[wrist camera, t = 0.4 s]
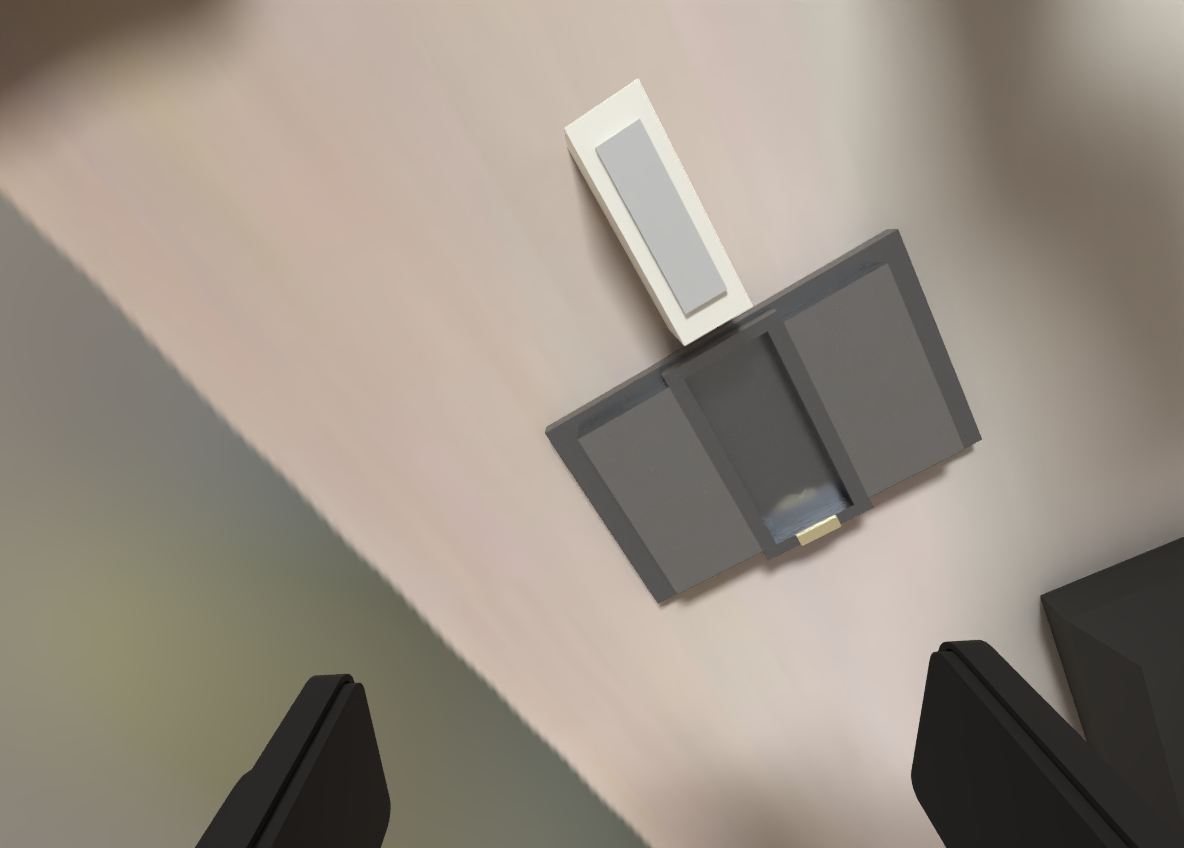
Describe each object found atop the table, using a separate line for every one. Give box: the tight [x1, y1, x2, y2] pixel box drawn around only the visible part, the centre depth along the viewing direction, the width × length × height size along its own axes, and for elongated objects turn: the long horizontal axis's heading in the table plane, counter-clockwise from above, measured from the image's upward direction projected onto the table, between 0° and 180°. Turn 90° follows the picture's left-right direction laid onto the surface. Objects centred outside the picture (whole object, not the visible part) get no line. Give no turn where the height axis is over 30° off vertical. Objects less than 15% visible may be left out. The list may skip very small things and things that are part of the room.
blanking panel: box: [564, 79, 753, 346], centre depth 30 cm, size 4×12×6 cm, turn 31°
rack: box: [545, 229, 982, 603], centre depth 36 cm, size 24×15×3 cm, turn 121°
